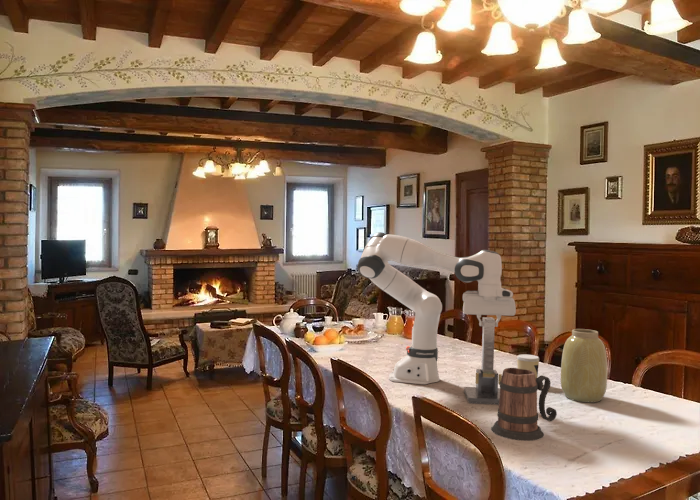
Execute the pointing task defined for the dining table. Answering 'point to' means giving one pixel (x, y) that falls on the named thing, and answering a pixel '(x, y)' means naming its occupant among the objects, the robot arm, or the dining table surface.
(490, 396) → the stand base
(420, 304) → the robot arm
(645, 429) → the dining table surface
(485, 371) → the column
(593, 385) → the vase
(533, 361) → the coffee cup
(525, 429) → the tankard
